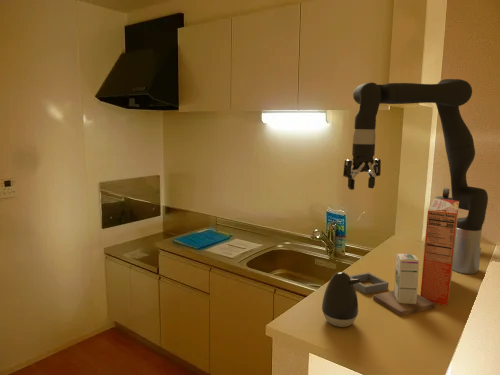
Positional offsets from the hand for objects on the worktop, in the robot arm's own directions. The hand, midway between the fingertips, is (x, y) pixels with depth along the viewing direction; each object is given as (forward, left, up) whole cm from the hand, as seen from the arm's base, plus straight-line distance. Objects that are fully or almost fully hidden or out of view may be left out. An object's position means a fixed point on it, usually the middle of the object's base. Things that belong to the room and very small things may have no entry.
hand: (361, 188), depth 134 cm
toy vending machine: (-61, -17, -34) cm, 72 cm away
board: (-2, +21, -34) cm, 40 cm away
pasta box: (-21, +17, -34) cm, 44 cm away
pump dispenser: (+24, +23, -34) cm, 48 cm away
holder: (0, +6, -34) cm, 35 cm away
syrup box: (-2, +21, -33) cm, 39 cm away
